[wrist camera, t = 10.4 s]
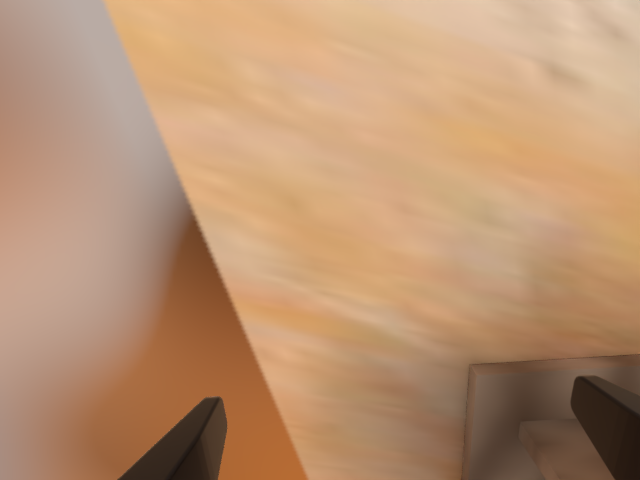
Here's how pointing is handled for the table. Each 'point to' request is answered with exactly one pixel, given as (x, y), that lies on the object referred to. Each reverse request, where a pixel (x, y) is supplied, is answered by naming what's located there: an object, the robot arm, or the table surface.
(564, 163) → the table surface
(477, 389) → the rack
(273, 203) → the table surface
